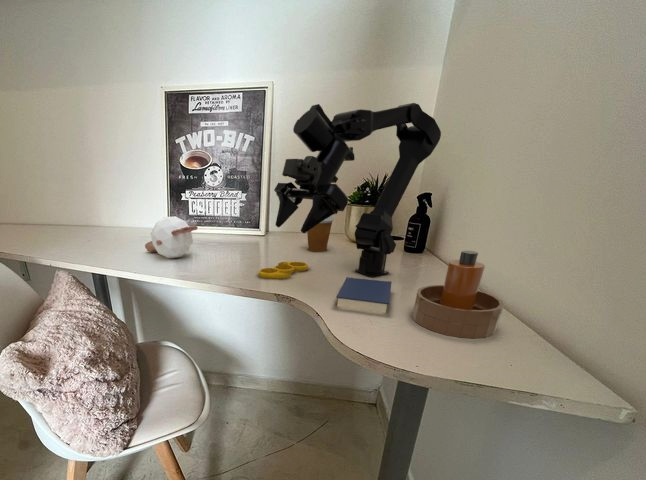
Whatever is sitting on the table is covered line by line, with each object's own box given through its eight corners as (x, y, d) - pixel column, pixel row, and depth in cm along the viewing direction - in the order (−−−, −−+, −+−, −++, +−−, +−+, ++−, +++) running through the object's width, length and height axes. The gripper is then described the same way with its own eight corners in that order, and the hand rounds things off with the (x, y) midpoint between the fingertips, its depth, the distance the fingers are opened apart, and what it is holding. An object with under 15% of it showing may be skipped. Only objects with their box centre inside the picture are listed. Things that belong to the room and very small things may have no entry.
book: (345, 288, 81) (346, 277, 80) (389, 293, 77) (391, 281, 76) (335, 309, 69) (336, 296, 68) (386, 316, 66) (389, 303, 65)
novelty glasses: (249, 273, 94) (272, 282, 86) (249, 268, 93) (272, 276, 86) (293, 264, 102) (317, 271, 95) (293, 259, 102) (317, 266, 94)
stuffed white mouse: (173, 258, 126) (158, 222, 122) (215, 244, 108) (199, 202, 104) (142, 271, 117) (125, 232, 113) (182, 258, 99) (164, 212, 95)
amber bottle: (447, 313, 65) (464, 247, 59) (474, 324, 60) (495, 253, 55) (429, 319, 63) (445, 250, 57) (455, 330, 58) (475, 257, 53)
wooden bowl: (442, 306, 70) (448, 281, 68) (510, 331, 59) (520, 302, 57) (396, 318, 65) (401, 291, 63) (462, 348, 54) (471, 317, 52)
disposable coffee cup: (325, 254, 113) (328, 217, 108) (299, 251, 117) (301, 215, 113) (334, 248, 120) (337, 214, 115) (309, 245, 125) (311, 212, 120)
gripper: (277, 144, 75) (242, 205, 76) (336, 137, 60) (292, 213, 61) (306, 174, 82) (274, 230, 83) (366, 175, 67) (326, 243, 68)
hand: (289, 229), depth 73 cm, fingers open, 9 cm apart
